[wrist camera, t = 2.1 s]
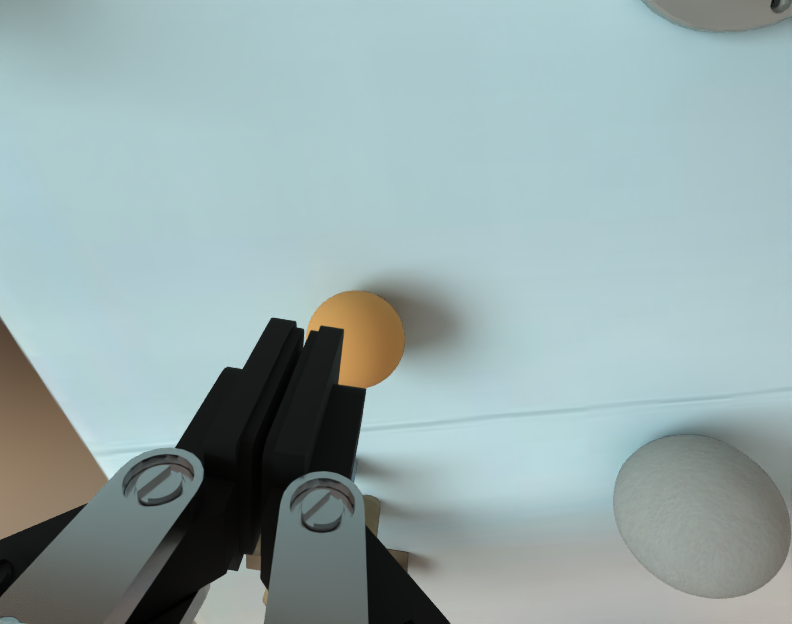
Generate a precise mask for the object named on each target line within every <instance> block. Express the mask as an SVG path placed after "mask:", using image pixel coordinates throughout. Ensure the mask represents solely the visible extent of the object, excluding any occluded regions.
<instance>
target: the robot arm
mask: <svg viewBox="0 0 792 624" xmlns="http://www.w3.org/2000/svg"><path fill="white" fill-rule="evenodd" d="M641 1H642V2H643V3H644V4H645V5H646V6H647V7H648V8H649V9H650V10H651V11H652V12H654V13H656V14H657V15H659V16H661V17H662V18H664V19H666V20H667V21H669V22H671V23H673V24H675V25H679V26H682V27H686V28H689V29H692V30H696V31H708V32H735V31H747V30H751V29H755V28H759V27H763V26H767V25H771V24H774V23H777V22H779V21H781V20H784V19H786V18H788V17H791V16H792V0H775V2H774V5H773V6H772V8H771V7H770V5H771V1H772V0H641ZM343 338H344V329H341V328H335V327H329V326H322V325H321V326H320V328H319V331H315V330H311V331H310V333H309V335H308V338H307V340H306V342H305V345H304V347H303V343H304V329H302V328H297V324H296V321H291V320H285V319H279V318H271V319H270V321H269V323H268V325H267V326H266V328H265V330H264V332H263V333H262V335H261V337H260V339H259V341H258V342H257V344H256V346H255V348H254V350H253V351H252V353H251V355H250V357H249V359H248V360H247V362H246V364H245V366H244V367H243V369H238V368H232V367H226V368H225V369H224V370H223V371H222V372H221V374H220V376H219V377H218V379H217V381H216V382H215V384H214V385H213V387H212V389H211V390H210V392H209V394H208V395H207V397H206V398H205V400H204V402H203V403H202V405H201V407H200V408H199V410H198V411H197V413H196V415H195V416H194V418H193V420H192V421H191V423H190V424H189V426H188V428H187V429H186V431H185V433H184V434H183V436H182V437H181V439H180V441H179V442H178V444H177V446H176V447H175V448H160V449H155V450H151V451H148V452H144V453H142V454H140V455H138V456H136V457H135V458H133V459H131V460H130V461H129V462H127V463H126V464H125V465H124V466H123V467H121V468H120V469H119V471H118V472H117V473H116V474H115V475H114V476H113V477H112V478H111V479H110V480H109V481H108V482H107V483H106V484H105V486H104V487H103V488H102V489H101V490H100V491H99V492H98V493H97V494H96V495H95V496H94V498H92V500H91V501H90V502H89V503H87V504H84V505H82V506H80V507H78V508H75V509H73V510H70V511H68V512H66V513H63V514H61V515H58V516H56V517H54V518H51V519H49V520H47V521H44V522H42V523H39V524H37V525H35V526H32V527H30V528H28V529H25V530H23V531H20V532H18V533H16V534H13V535H11V536H9V537H6V538H4V539H1V540H0V624H192V622H193V620H194V618H195V617H196V615H197V613H198V611H199V609H200V608H201V606H202V604H203V602H204V600H205V599H206V596H207V594H208V591H209V589H210V583H211V582H213V581H215V580H216V579H218V578H220V577H221V576H223V575H225V574H226V573H227V570H234V571H238V569H239V566H240V564H241V561H242V558H243V555H244V554H246V555H253V553H254V551H255V548H256V545H257V543H258V540H259V537H260V534H261V547H260V555H261V575H260V579H261V581H262V582H263V584H264V585H265V587H266V589H267V590H268V598H267V605H266V612H265V620H264V624H450V622H449V621H448V620H447V619H446V617H445V616H444V615H443V614H442V613H441V612H440V610H439V609H438V608H437V607H436V606H435V605H434V603H433V602H432V601H431V600H430V599H429V598H428V597H427V595H426V594H425V593H424V592H423V591H422V590H421V588H420V587H419V586H418V585H417V584H416V583H415V581H414V580H413V579H412V578H411V577H410V576H409V574H408V573H407V572H406V571H405V570H404V569H403V567H402V566H401V565H400V564H399V563H398V562H397V560H396V559H395V558H394V557H393V556H392V555H391V553H390V552H389V551H388V550H387V549H386V548H385V546H384V545H383V544H382V543H381V542H380V541H379V539H378V538H377V537H376V536H375V535H374V534H373V532H372V531H371V530H370V529H369V528H368V527H367V526H366V524H365V511H364V501H363V497H362V494H361V492H360V491H359V489H358V487H357V486H356V485H355V484H354V483H353V482H352V481H351V479H352V473H353V468H354V462H355V457H356V451H357V445H358V439H359V433H360V427H361V421H362V415H363V408H364V402H365V395H366V389H365V388H359V387H353V386H346V385H340V384H338V382H339V373H340V365H341V356H342V347H343Z"/></svg>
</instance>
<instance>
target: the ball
mask: <svg viewBox="0 0 792 624" xmlns="http://www.w3.org/2000/svg"><path fill="white" fill-rule="evenodd" d="M613 506H614V515H615V519H616V523H617V526H618V529H619V532H620V534H621V536H622V538H623V540H624V542H625V544H626V545H627V547H628V549H629V550H630V551H631V553H632V554H633V555H634V557H635V558H636V559H637V560H638V561H639V562H640V563H641V564H642V565H643V566H644V567H645V568H646V569H647V570H648V571H649V572H650V573H652V574H653V575H654V576H655V577H657V578H658V579H660V580H661V581H663V582H664V583H666V584H668V585H669V586H671V587H673V588H675V589H677V590H680V591H682V592H685V593H688V594H691V595H695V596H700V597H706V598H716V599H720V598H733V597H738V596H742V595H746V594H749V593H751V592H753V591H755V590H757V589H759V588H761V587H762V586H764V585H765V584H767V583H768V582H769V581H770V580H771V579H772V578H773V577H774V576H775V575H776V574H777V573H778V571H779V570H780V569H781V567H782V566H783V564H784V562H785V560H786V557H787V554H788V551H789V546H790V538H791V528H790V519H789V514H788V510H787V507H786V504H785V502H784V500H783V497H782V495H781V493H780V491H779V490H778V488H777V486H776V485H775V483H774V482H773V481H772V479H771V478H770V477H769V476H768V474H767V473H766V472H765V471H764V470H763V469H762V468H761V467H760V466H759V465H758V464H757V463H756V462H754V461H753V460H752V459H751V458H749V457H748V456H747V455H745V454H744V453H742V452H740V451H739V450H737V449H735V448H733V447H732V446H730V445H727V444H725V443H723V442H720V441H718V440H715V439H712V438H708V437H704V436H698V435H674V436H668V437H664V438H660V439H657V440H654V441H652V442H650V443H648V444H646V445H644V446H642V447H641V448H639V449H638V450H637V451H635V452H634V453H633V454H632V455H631V456H630V457H629V458H628V459H627V460H626V462H625V463H624V464H623V466H622V467H621V469H620V471H619V474H618V476H617V479H616V483H615V487H614V495H613Z"/></svg>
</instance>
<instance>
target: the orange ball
mask: <svg viewBox="0 0 792 624" xmlns="http://www.w3.org/2000/svg"><path fill="white" fill-rule="evenodd" d="M321 325H322V326H329V327H335V328H341V329H344V338H343V347H342V356H341V365H340V373H339V382H338V384H340V385H346V386H353V387H359V388H368V387H371V386H374V385H376V384H378V383H380V382H382V381H383V380H385V379H386V378H387V377H388V376H390V375H391V373H392V372H393V371H394V370H395V369H396V367H397V366H398V364H399V362H400V360H401V357H402V355H403V351H404V345H405V334H404V328H403V325H402V322H401V319H400V318H399V316H398V314H397V312H396V311H395V310H394V308H393V307H392V306H391V305H390V304H389V303H388V302H386V301H385V300H384V299H382V298H381V297H379V296H377V295H375V294H372V293H369V292H365V291H347V292H342V293H339V294H337V295H334V296H333V297H331V298H329V299H327V300H326V301H325V302H323V303H322V304H321V305H320V306H319V308H318V309H317V310H316V311H315V313H314V314H313V316H312V318H311V320H310V322H309V325H308V329H307V334H306V340H307V338H308V335H309V333H310V331H311V330H315V331H319V328H320V326H321Z"/></svg>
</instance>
